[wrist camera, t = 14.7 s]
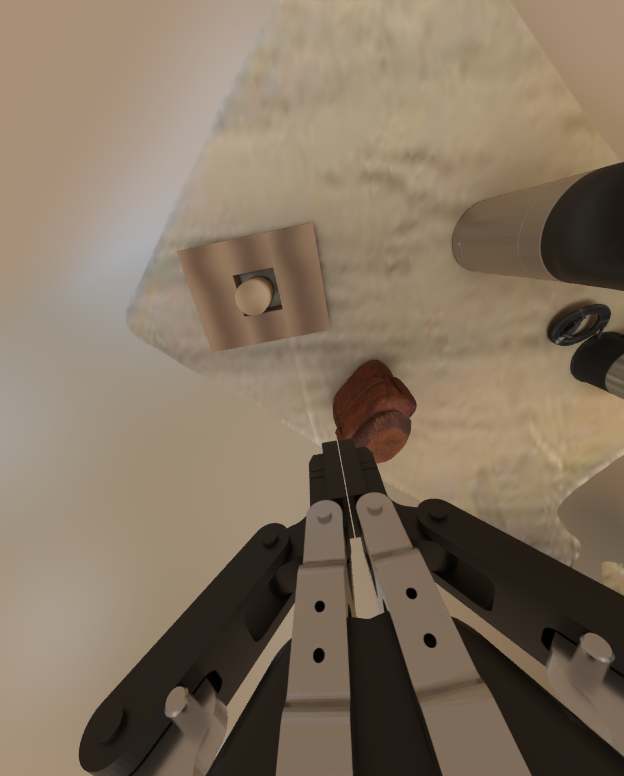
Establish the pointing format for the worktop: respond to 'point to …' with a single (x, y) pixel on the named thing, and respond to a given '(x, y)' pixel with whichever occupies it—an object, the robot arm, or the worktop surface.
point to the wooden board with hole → (247, 254)
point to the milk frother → (593, 349)
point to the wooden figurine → (374, 411)
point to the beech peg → (254, 295)
